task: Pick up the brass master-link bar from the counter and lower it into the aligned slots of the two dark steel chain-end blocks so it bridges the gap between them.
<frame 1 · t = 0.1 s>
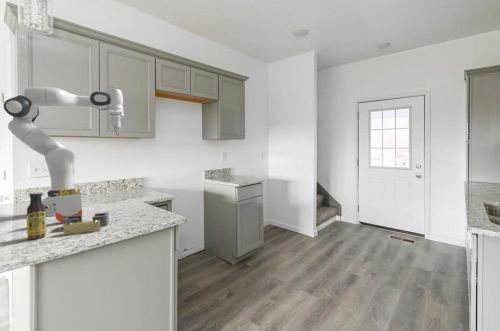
hand: (116, 134, 160), 48 cm above the counter, fingers open, 8 cm apart
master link: (83, 232, 115), on the counter
sauce bottle: (37, 237, 108), on the counter
chain end left: (73, 227, 122), on the counter
french fries container: (69, 222, 131), on the counter
chain end right: (101, 224, 126), on the counter
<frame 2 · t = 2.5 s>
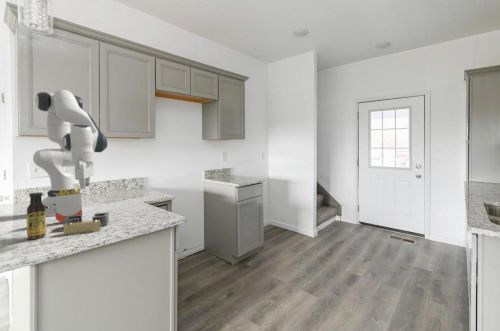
hand: (85, 187, 117), 21 cm above the counter, fingers open, 8 cm apart
nothing on the counter moved.
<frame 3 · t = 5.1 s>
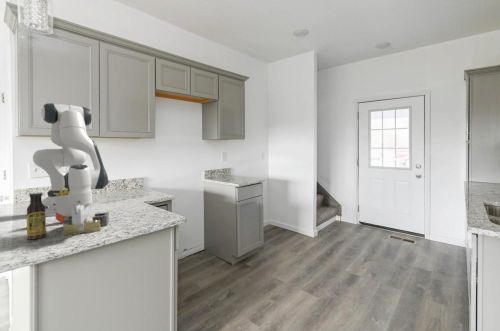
hand: (82, 228, 115), 2 cm above the counter, fingers closed on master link, 3 cm apart
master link: (83, 232, 115), on the counter, touching gripper
everything else where it was.
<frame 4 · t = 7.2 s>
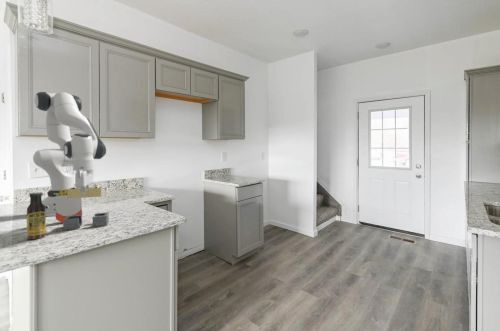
hand: (85, 193, 123), 16 cm above the counter, fingers closed on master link, 3 cm apart
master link: (85, 196, 123), point 15 cm above the counter, touching gripper
everything else where it was.
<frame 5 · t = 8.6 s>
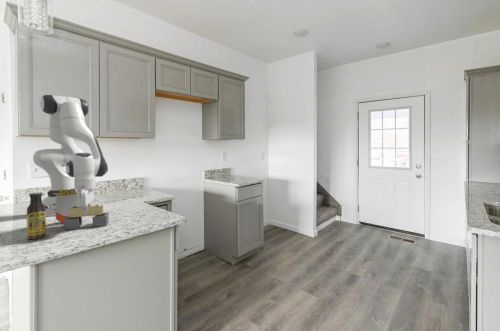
hand: (86, 212, 124), 7 cm above the counter, fingers closed on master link, 3 cm apart
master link: (87, 215, 124), point 5 cm above the counter, touching gripper
everything else where it was.
when the fingers open (4 cm above the counter, at t = 9.5 s): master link stays where it is, resting on chain end left, chain end right.
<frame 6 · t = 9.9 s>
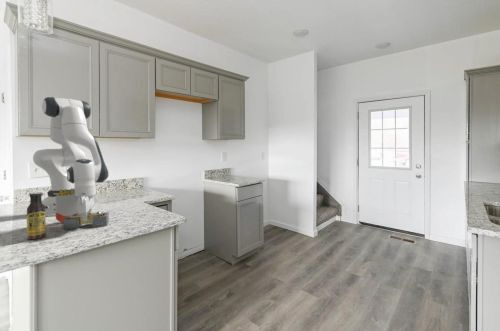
hand: (87, 218, 124), 4 cm above the counter, fingers open, 7 cm apart
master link: (87, 222, 124), point 1 cm above the counter, touching chain end left, chain end right
everything else where it was.
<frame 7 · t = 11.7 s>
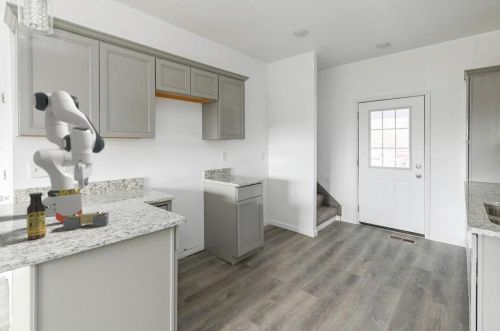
hand: (83, 186, 124), 20 cm above the counter, fingers open, 8 cm apart
nothing on the counter moved.
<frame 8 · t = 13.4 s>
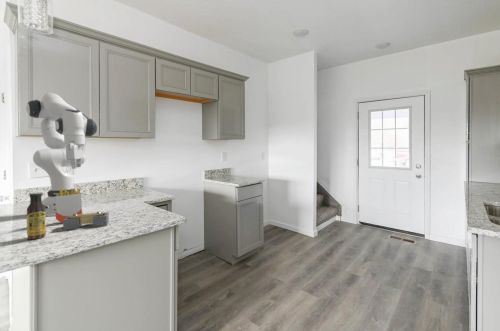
hand: (76, 167, 127), 29 cm above the counter, fingers open, 8 cm apart
nothing on the counter moved.
at the end: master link 0.1 cm from the target spot, point 1.5 cm above the counter; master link tilted 0°; the gripper is holding nothing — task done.
